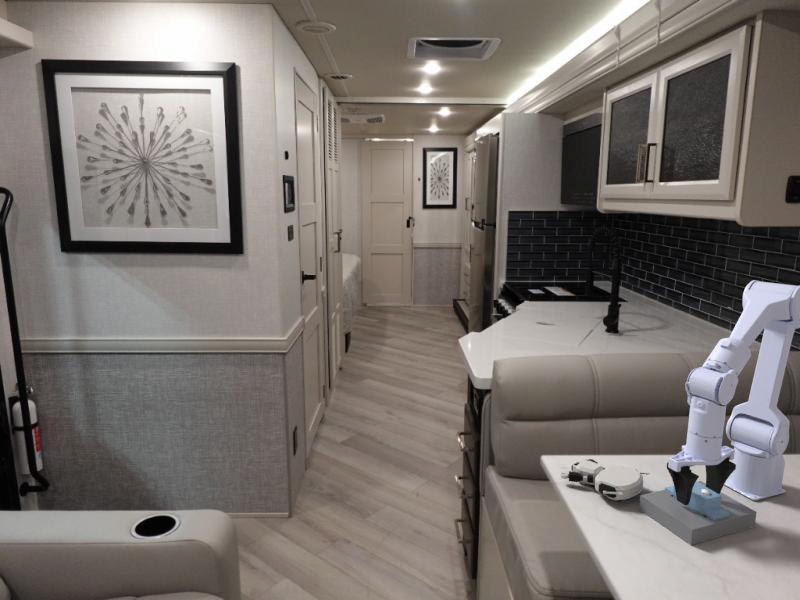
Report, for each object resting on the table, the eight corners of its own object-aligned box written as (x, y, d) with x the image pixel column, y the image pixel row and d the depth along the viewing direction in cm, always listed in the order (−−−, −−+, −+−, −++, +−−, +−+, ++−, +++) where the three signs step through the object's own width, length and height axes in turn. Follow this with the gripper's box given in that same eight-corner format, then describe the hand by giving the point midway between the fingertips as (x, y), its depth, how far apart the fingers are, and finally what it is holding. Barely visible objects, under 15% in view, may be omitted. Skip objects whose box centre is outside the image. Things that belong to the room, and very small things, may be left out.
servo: (678, 498, 109) (681, 471, 108) (728, 528, 99) (731, 499, 98) (663, 501, 108) (666, 474, 107) (711, 532, 98) (715, 503, 97)
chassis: (699, 494, 112) (700, 481, 111) (754, 526, 100) (756, 511, 100) (639, 509, 106) (640, 495, 105) (690, 545, 95) (692, 529, 94)
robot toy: (556, 488, 116) (625, 513, 104) (556, 468, 115) (625, 491, 104) (586, 469, 124) (652, 491, 113) (586, 451, 123) (652, 470, 112)
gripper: (714, 418, 106) (707, 481, 109) (658, 428, 101) (651, 494, 104) (748, 432, 100) (739, 499, 102) (689, 444, 95) (682, 514, 97)
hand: (697, 498), depth 103 cm, fingers open, 7 cm apart
